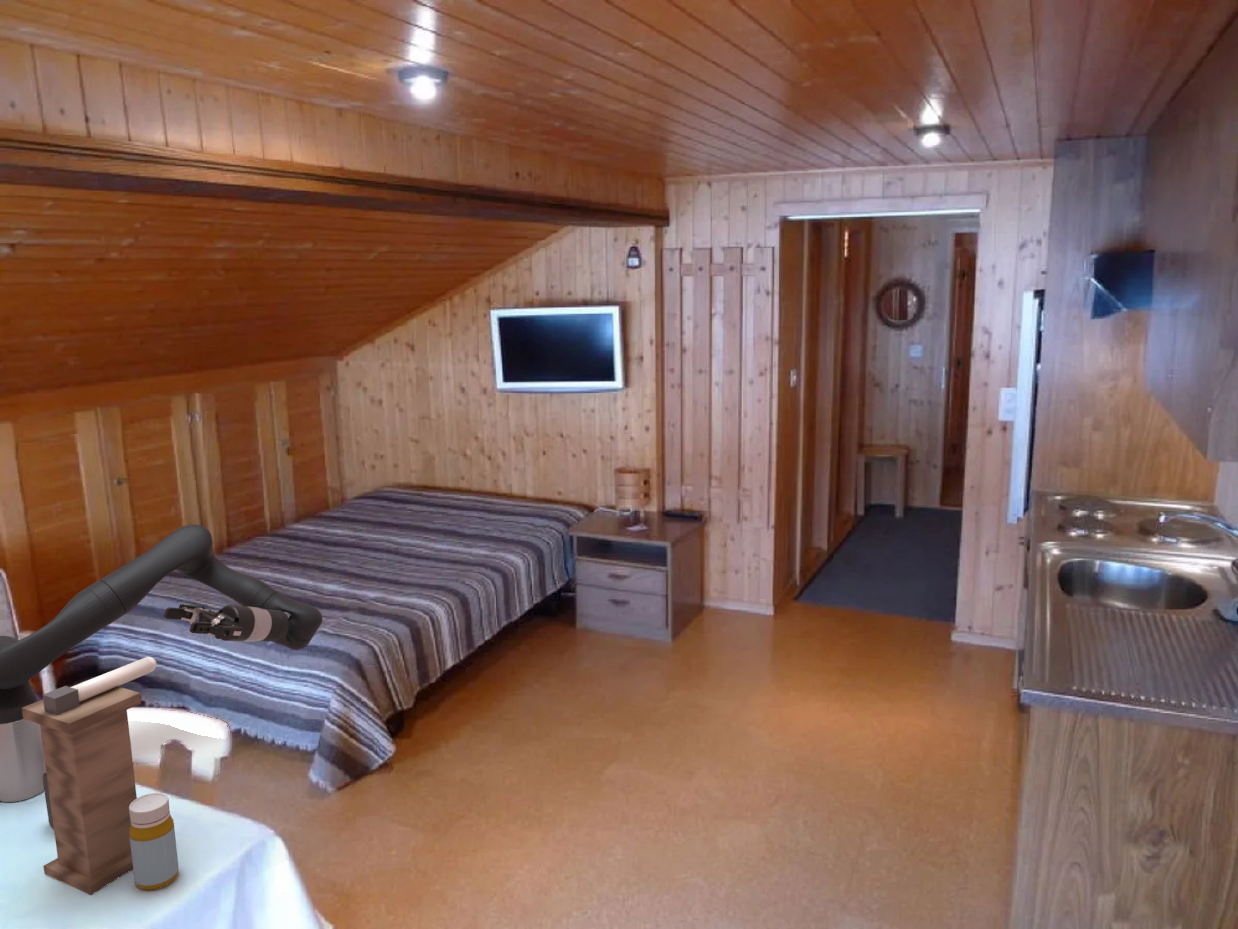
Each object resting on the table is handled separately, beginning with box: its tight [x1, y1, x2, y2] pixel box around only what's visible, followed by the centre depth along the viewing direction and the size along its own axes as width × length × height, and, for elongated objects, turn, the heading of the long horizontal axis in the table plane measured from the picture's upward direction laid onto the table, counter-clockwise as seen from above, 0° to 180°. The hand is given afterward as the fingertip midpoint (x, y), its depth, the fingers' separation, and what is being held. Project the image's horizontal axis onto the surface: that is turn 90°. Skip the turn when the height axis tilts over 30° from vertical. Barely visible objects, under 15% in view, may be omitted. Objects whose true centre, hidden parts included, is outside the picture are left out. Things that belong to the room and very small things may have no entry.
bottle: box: [129, 792, 180, 891], centre depth 161 cm, size 7×7×15 cm
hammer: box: [42, 656, 158, 715], centre depth 164 cm, size 20×3×3 cm, turn 153°
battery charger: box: [43, 773, 54, 830], centre depth 177 cm, size 7×4×11 cm, turn 48°
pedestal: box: [22, 686, 142, 896], centre depth 164 cm, size 13×13×32 cm
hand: (178, 620), depth 183 cm, fingers open, 8 cm apart
